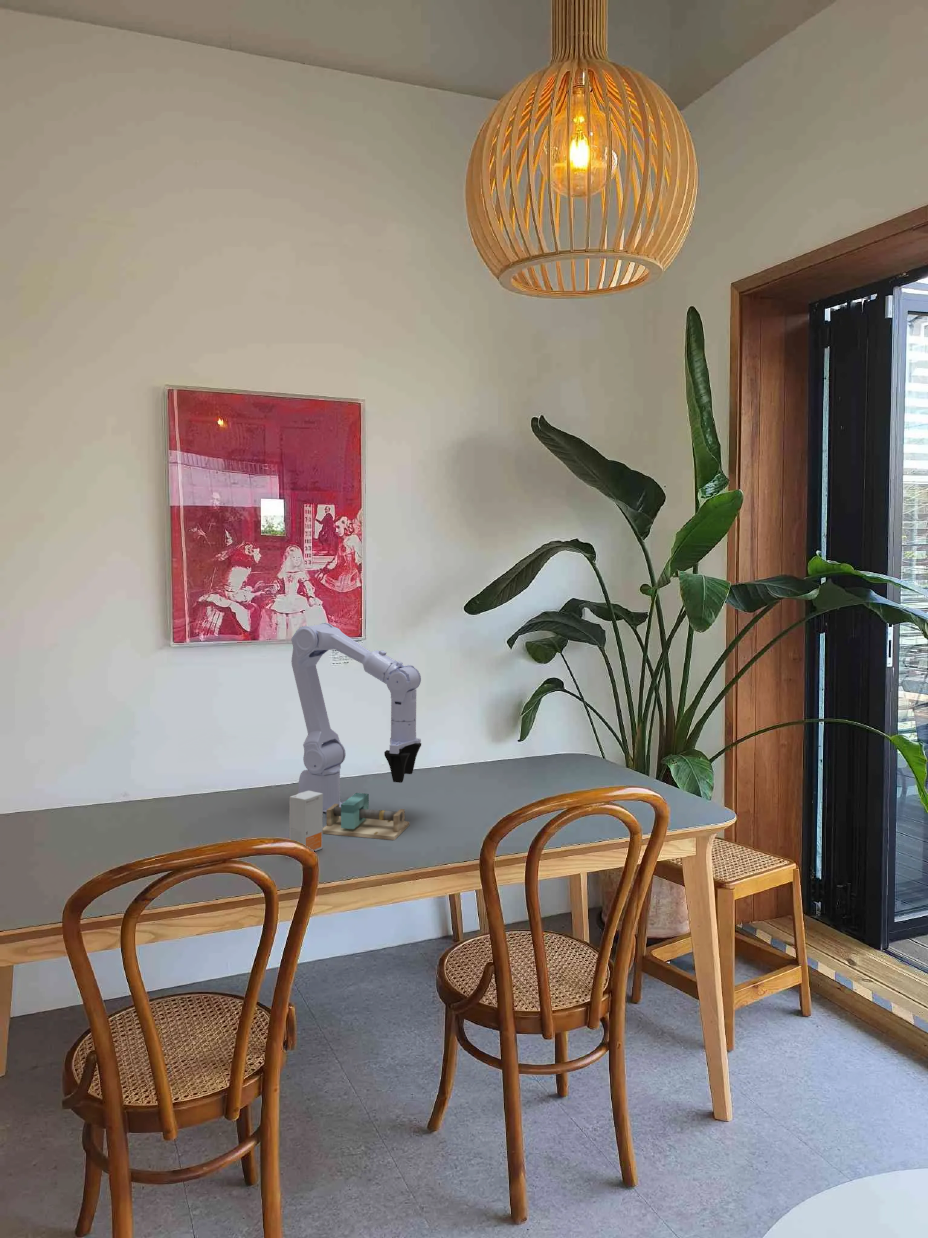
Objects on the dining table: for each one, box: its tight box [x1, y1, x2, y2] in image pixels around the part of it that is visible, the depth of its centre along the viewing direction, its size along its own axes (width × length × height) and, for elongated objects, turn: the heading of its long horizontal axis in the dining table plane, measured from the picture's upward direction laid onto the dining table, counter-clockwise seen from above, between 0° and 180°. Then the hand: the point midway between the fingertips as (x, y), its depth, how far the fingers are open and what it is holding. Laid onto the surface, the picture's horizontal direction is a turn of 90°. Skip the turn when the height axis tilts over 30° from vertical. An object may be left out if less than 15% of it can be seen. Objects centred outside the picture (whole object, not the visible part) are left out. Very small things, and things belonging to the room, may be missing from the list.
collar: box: [341, 792, 370, 829], centre depth 218 cm, size 3×10×5 cm, turn 166°
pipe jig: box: [322, 804, 410, 841], centre depth 217 cm, size 17×11×5 cm, turn 76°
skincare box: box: [288, 791, 324, 852], centre depth 202 cm, size 6×4×12 cm
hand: (402, 777), depth 224 cm, fingers open, 7 cm apart
